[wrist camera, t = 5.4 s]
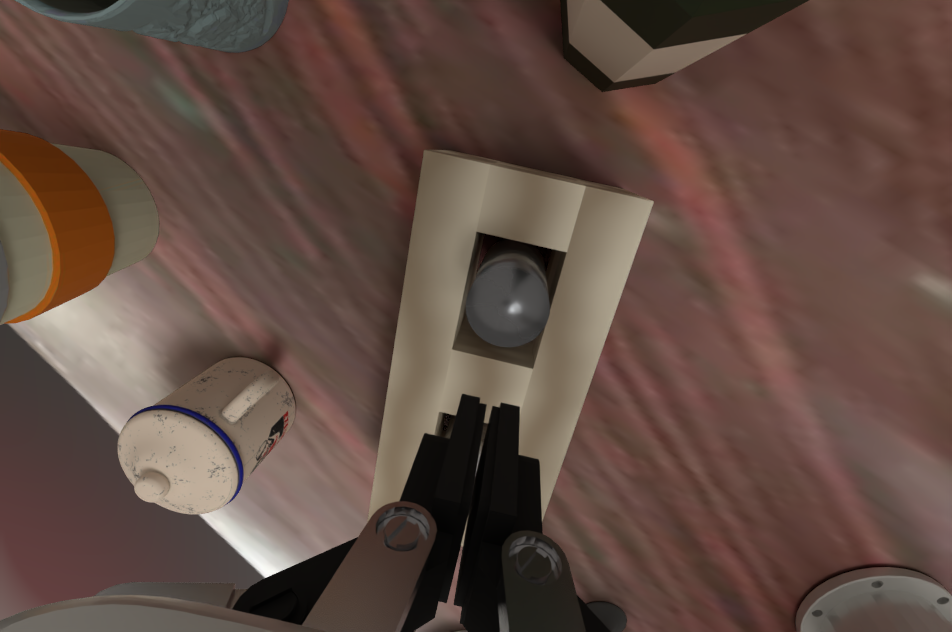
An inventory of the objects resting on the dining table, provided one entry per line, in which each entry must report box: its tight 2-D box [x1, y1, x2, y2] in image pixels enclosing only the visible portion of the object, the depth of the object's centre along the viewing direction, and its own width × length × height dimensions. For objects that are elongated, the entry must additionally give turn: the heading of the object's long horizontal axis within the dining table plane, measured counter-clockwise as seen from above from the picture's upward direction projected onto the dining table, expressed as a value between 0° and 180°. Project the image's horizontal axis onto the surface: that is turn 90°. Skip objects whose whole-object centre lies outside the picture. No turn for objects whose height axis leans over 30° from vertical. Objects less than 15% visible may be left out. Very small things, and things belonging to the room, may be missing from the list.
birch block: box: [367, 150, 654, 546], centre depth 31 cm, size 12×26×8 cm, turn 168°
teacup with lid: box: [118, 357, 296, 514], centre depth 34 cm, size 12×9×12 cm
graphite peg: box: [466, 239, 550, 347], centre depth 24 cm, size 4×4×8 cm
